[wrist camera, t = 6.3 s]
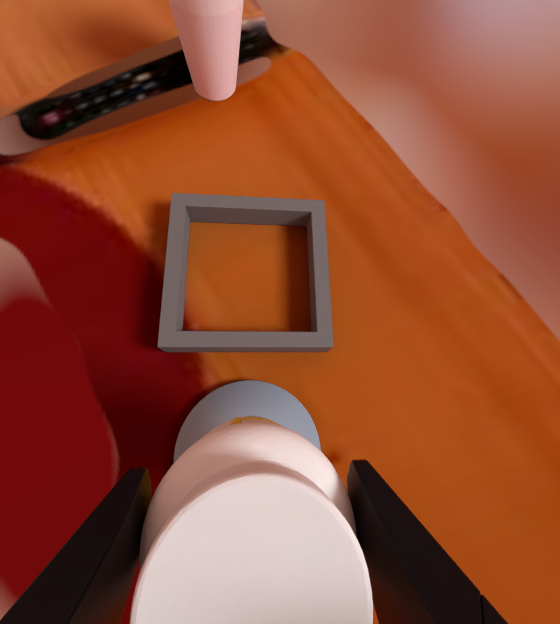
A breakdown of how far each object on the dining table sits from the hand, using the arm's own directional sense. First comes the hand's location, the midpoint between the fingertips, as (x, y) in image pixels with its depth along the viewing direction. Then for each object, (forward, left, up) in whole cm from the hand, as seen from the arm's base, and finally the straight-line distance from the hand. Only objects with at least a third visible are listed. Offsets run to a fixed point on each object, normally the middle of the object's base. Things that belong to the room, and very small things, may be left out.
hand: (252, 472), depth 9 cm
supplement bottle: (-1, -1, -7) cm, 7 cm away
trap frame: (+7, +8, -12) cm, 16 cm away
